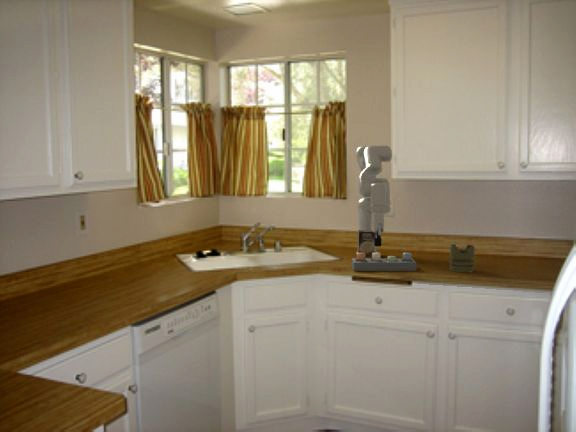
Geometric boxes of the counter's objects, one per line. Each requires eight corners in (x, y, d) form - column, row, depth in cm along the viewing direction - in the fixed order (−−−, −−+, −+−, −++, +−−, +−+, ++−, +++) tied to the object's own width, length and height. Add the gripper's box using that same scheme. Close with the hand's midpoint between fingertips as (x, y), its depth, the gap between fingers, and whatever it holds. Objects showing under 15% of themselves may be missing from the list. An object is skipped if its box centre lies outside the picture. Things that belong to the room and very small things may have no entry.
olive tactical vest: (476, 247, 292) (451, 247, 294) (475, 273, 294) (450, 272, 295) (473, 244, 303) (449, 243, 305) (472, 268, 305) (448, 267, 306)
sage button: (386, 264, 307) (387, 255, 307) (395, 264, 307) (395, 255, 307) (388, 265, 303) (388, 257, 303) (396, 265, 303) (396, 257, 303)
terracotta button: (356, 261, 307) (356, 252, 307) (364, 261, 307) (364, 252, 307) (357, 262, 303) (357, 254, 303) (365, 262, 303) (365, 254, 303)
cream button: (371, 261, 307) (371, 252, 307) (379, 261, 307) (380, 252, 307) (372, 262, 303) (372, 253, 303) (381, 262, 303) (381, 254, 303)
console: (351, 266, 311) (351, 258, 311) (411, 266, 311) (411, 258, 311) (353, 270, 300) (354, 262, 299) (416, 270, 299) (416, 262, 299)
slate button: (402, 261, 307) (402, 252, 306) (410, 261, 307) (410, 252, 306) (403, 262, 303) (403, 253, 302) (411, 262, 303) (412, 253, 302)
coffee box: (357, 262, 323) (357, 231, 321) (357, 260, 329) (357, 229, 327) (375, 262, 322) (375, 231, 320) (375, 260, 328) (375, 230, 326)
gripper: (368, 207, 310) (367, 243, 312) (373, 210, 295) (372, 248, 297) (383, 207, 310) (382, 243, 312) (388, 210, 295) (388, 248, 297)
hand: (377, 246), depth 304 cm, fingers closed
